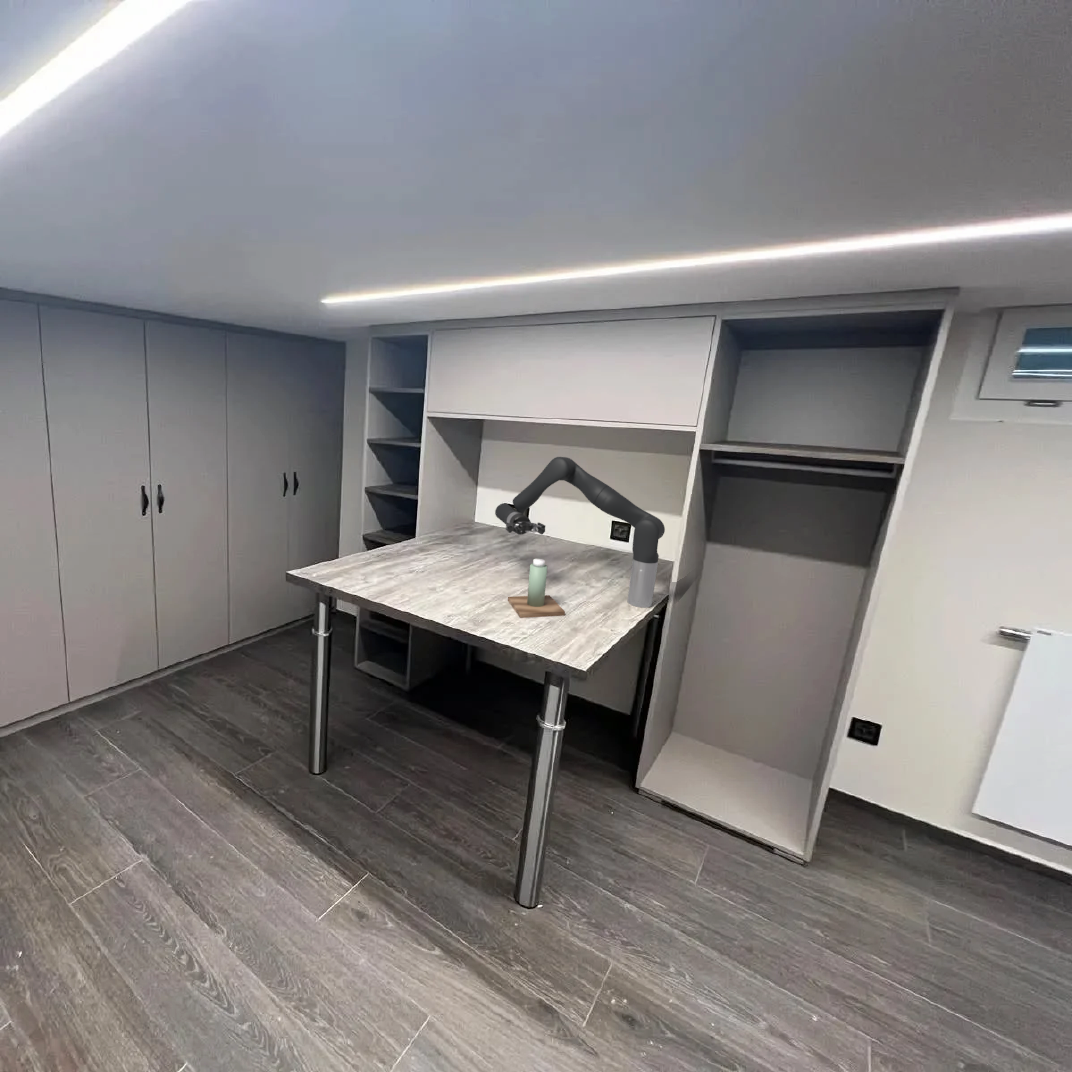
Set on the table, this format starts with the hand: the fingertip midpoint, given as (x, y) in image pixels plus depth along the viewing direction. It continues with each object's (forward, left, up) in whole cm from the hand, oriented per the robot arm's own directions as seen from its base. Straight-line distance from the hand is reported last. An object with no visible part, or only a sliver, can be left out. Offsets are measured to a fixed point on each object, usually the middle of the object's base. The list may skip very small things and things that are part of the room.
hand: (531, 531), depth 181 cm
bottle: (+7, +8, -24) cm, 26 cm away
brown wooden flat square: (+7, +8, -25) cm, 27 cm away
